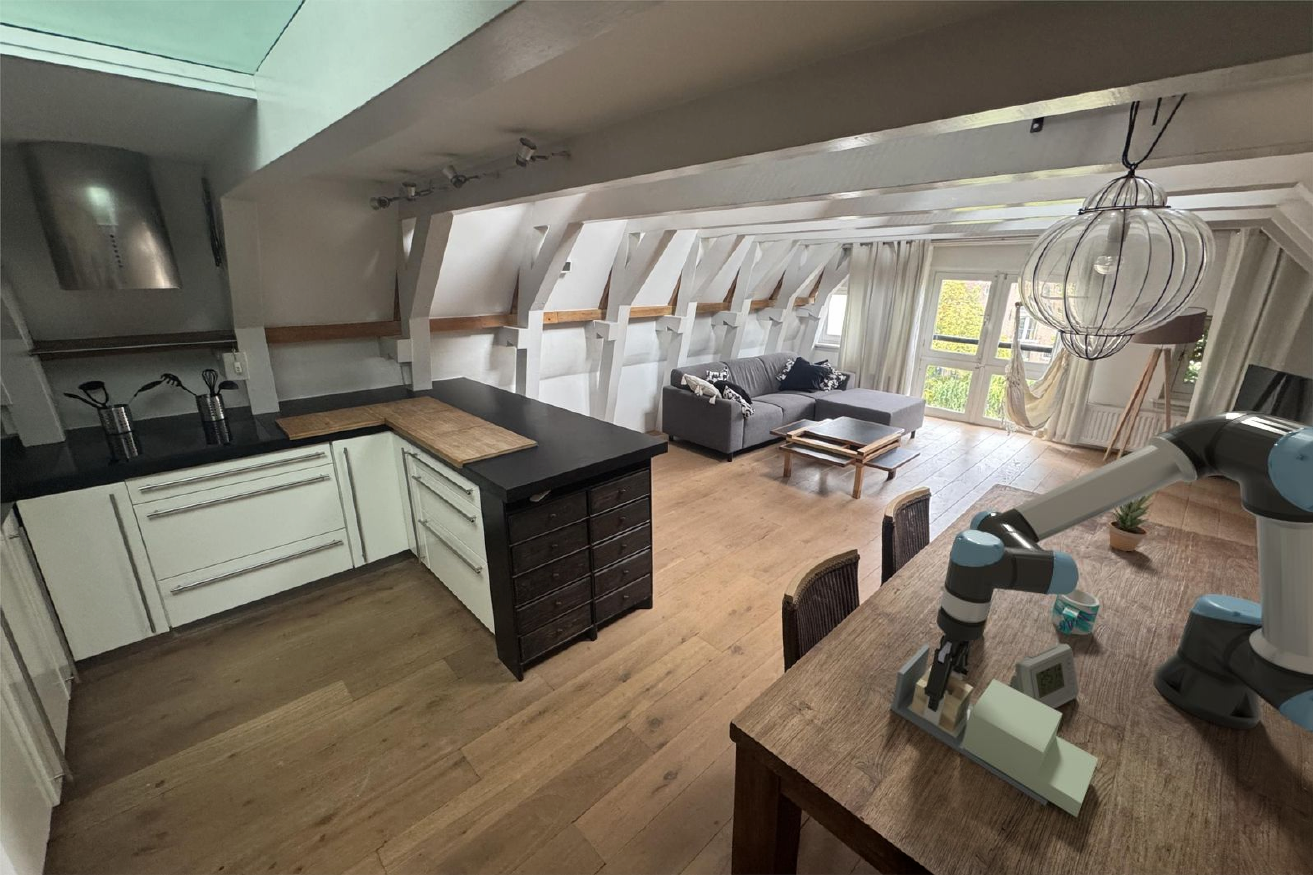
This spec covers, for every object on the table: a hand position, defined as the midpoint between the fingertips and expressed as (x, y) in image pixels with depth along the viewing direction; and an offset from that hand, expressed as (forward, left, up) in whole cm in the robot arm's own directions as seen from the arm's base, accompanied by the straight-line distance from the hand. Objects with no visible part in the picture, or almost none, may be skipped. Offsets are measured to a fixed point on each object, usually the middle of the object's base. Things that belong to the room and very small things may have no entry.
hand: (940, 709), depth 101 cm
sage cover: (-15, 0, 0) cm, 14 cm away
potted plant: (-11, -119, -2) cm, 119 cm away
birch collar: (0, 0, 0) cm, 0 cm away
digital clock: (-12, -20, -2) cm, 24 cm away
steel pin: (0, 0, -1) cm, 1 cm away
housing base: (-6, 0, -1) cm, 6 cm away
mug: (-10, -54, -2) cm, 55 cm away
